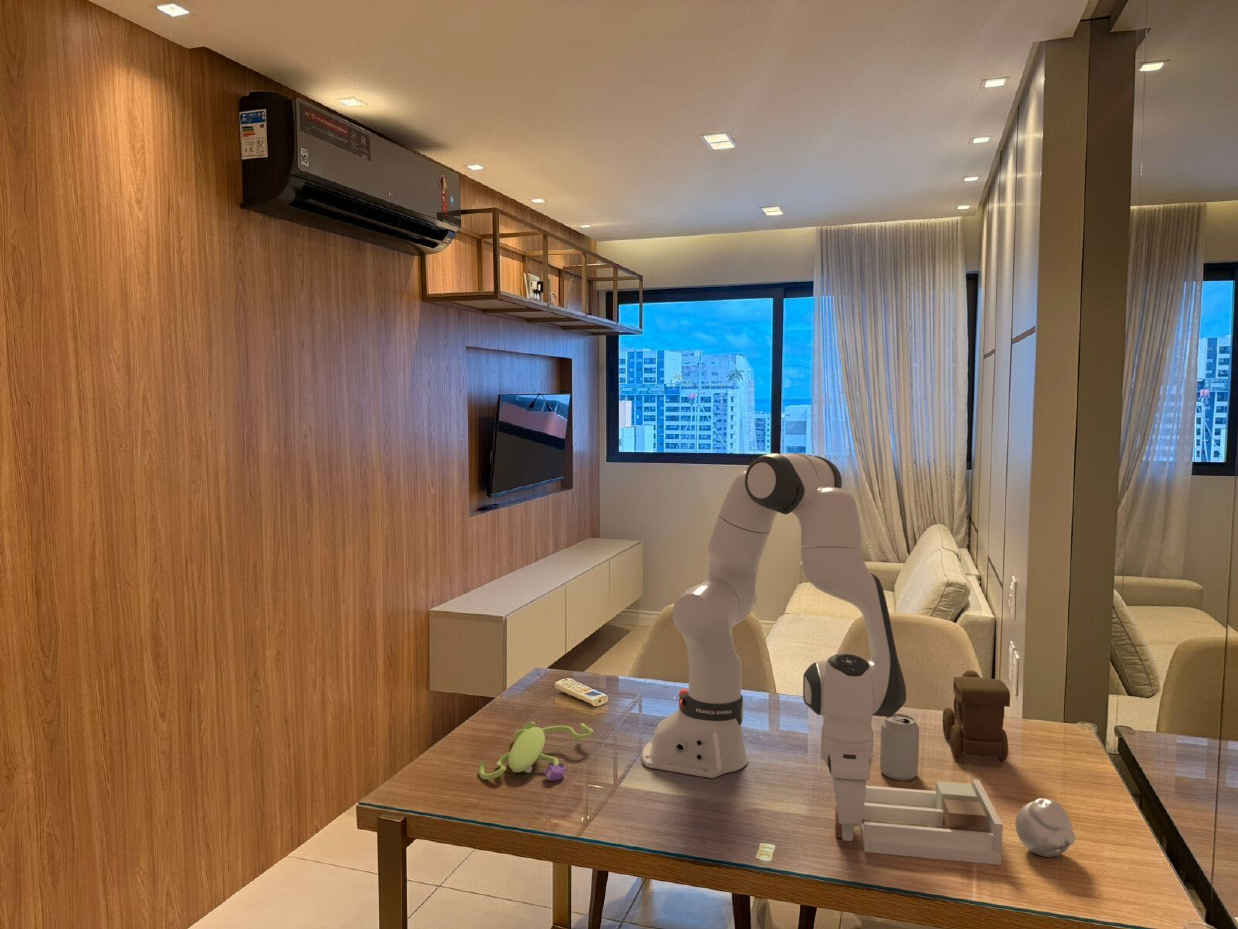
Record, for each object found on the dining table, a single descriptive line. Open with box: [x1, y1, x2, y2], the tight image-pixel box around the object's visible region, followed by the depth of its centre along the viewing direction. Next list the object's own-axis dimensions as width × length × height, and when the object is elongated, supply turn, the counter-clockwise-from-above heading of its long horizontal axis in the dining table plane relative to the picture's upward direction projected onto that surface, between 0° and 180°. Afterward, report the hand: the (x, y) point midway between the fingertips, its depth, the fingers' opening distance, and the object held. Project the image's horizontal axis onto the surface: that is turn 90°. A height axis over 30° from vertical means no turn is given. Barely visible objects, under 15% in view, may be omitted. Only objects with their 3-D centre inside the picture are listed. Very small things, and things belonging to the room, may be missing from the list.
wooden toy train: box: [942, 669, 1011, 763], centre depth 190 cm, size 20×11×17 cm, turn 168°
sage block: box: [935, 781, 977, 809], centre depth 156 cm, size 6×5×5 cm
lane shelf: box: [858, 778, 1004, 866], centre depth 153 cm, size 22×17×7 cm
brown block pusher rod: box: [834, 799, 987, 839], centre depth 150 cm, size 24×5×7 cm, turn 80°
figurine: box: [478, 721, 594, 782], centre depth 184 cm, size 18×27×6 cm
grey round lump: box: [1014, 797, 1076, 858], centre depth 146 cm, size 9×10×10 cm
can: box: [879, 712, 920, 781], centre depth 177 cm, size 8×8×12 cm
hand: (844, 825), depth 153 cm, fingers open, 8 cm apart
